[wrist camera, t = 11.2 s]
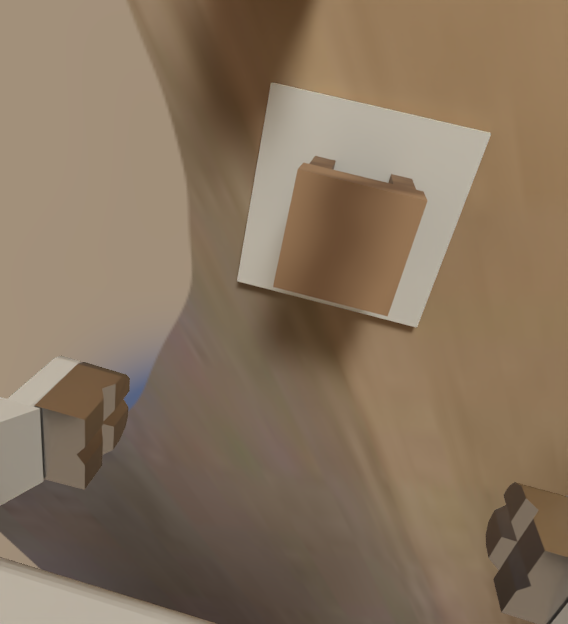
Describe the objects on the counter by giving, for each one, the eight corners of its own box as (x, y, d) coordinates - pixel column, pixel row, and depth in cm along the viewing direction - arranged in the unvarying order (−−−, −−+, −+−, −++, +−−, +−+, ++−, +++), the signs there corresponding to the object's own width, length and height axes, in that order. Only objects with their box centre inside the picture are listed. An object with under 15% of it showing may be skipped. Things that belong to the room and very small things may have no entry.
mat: (488, 132, 26) (491, 133, 25) (416, 323, 31) (416, 327, 31) (273, 82, 26) (271, 82, 26) (239, 277, 32) (237, 281, 31)
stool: (416, 176, 27) (427, 200, 21) (385, 273, 29) (387, 316, 24) (312, 151, 27) (297, 169, 22) (290, 249, 30) (273, 286, 25)
